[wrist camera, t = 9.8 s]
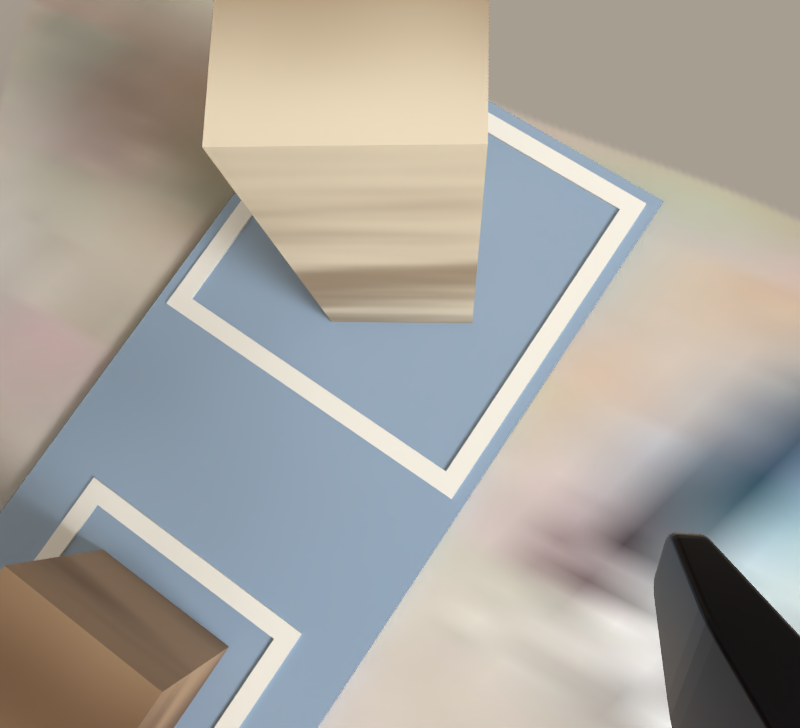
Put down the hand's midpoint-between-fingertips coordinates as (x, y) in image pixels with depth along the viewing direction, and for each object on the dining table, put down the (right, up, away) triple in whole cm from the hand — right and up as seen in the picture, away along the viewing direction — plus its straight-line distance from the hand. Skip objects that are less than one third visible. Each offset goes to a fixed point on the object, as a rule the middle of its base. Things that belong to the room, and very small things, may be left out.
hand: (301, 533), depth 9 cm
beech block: (+1, +6, +14) cm, 16 cm away
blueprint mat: (-2, 0, +14) cm, 14 cm away
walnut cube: (-7, -7, +13) cm, 16 cm away
